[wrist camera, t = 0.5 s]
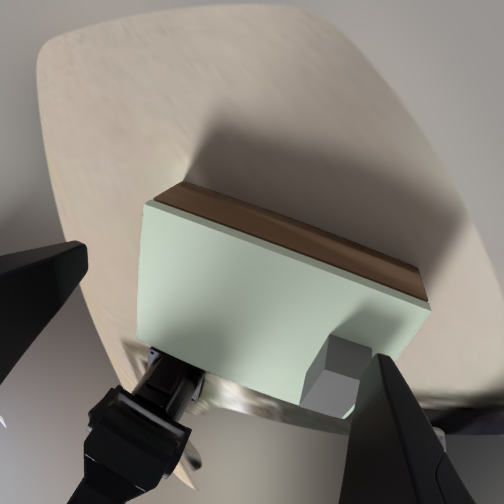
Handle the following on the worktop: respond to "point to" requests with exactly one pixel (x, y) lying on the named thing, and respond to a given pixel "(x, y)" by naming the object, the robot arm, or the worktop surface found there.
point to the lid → (264, 311)
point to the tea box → (295, 237)
